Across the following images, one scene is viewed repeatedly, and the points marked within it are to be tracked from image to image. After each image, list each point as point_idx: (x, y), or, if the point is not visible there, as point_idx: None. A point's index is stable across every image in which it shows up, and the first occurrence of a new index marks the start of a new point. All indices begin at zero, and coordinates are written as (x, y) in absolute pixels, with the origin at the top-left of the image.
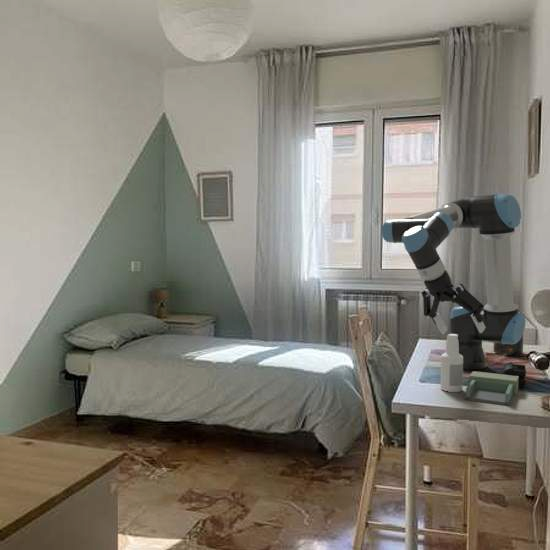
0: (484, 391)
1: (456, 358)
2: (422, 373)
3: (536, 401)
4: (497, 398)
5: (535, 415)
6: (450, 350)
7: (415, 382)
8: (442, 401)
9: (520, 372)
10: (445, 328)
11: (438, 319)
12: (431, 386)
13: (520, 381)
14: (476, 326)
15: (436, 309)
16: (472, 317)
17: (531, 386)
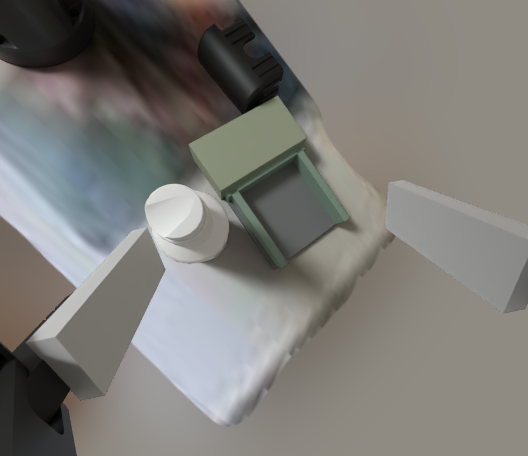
0: (263, 197)
1: (225, 239)
2: (33, 183)
3: (339, 155)
4: (311, 216)
5: None
6: (199, 243)
7: None
8: (262, 321)
9: (274, 79)
10: (146, 247)
11: (112, 333)
12: None
13: (271, 95)
14: (415, 249)
15: (40, 451)
16: (488, 297)
17: None
